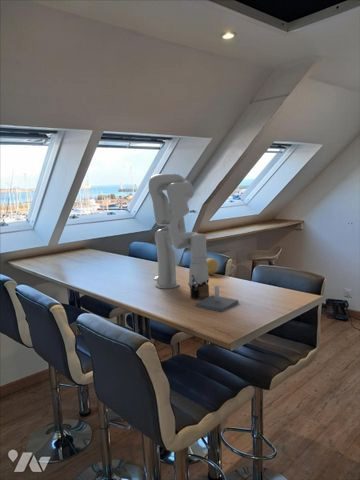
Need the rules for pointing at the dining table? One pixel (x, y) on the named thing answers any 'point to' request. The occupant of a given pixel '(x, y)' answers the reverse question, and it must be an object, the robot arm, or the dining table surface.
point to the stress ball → (212, 266)
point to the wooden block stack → (201, 291)
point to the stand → (216, 302)
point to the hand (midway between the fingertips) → (199, 295)
